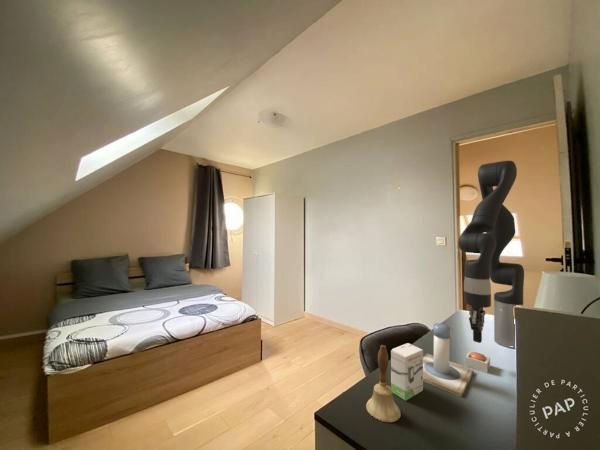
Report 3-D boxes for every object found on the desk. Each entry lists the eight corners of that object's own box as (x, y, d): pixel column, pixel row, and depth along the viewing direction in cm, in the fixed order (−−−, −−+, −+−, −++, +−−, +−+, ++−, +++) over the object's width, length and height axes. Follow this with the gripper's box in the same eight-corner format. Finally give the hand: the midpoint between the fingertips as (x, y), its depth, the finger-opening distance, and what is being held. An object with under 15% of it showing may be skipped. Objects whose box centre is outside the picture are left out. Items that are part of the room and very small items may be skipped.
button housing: (469, 359, 87) (468, 350, 87) (490, 366, 83) (490, 357, 83) (465, 365, 83) (465, 356, 83) (487, 373, 78) (487, 363, 79)
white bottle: (444, 366, 80) (445, 323, 80) (452, 374, 75) (453, 329, 76) (430, 365, 80) (431, 323, 80) (437, 373, 76) (437, 328, 76)
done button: (471, 356, 86) (471, 350, 86) (485, 360, 83) (485, 355, 83) (469, 360, 83) (469, 354, 83) (483, 365, 80) (483, 359, 80)
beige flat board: (427, 356, 89) (427, 353, 89) (473, 372, 79) (473, 368, 79) (408, 375, 77) (409, 371, 77) (461, 397, 67) (461, 392, 67)
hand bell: (359, 402, 64) (360, 341, 64) (385, 396, 67) (386, 337, 67) (379, 426, 56) (380, 356, 57) (408, 418, 59) (408, 351, 59)
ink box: (406, 401, 65) (406, 357, 65) (390, 391, 69) (390, 349, 69) (423, 390, 69) (423, 348, 70) (407, 381, 73) (407, 342, 74)
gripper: (487, 296, 76) (488, 352, 76) (493, 289, 85) (494, 338, 85) (459, 292, 82) (460, 344, 81) (468, 285, 91) (468, 332, 91)
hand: (477, 341), depth 83 cm, fingers closed
